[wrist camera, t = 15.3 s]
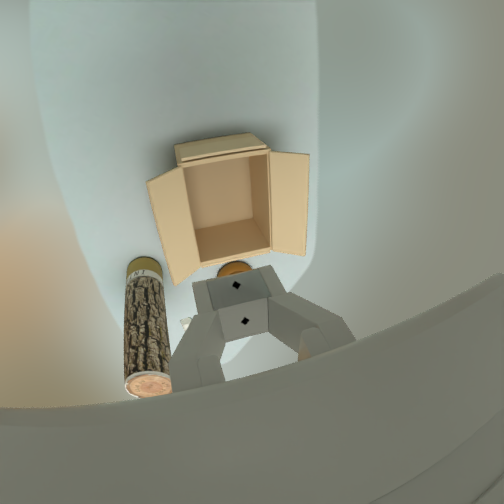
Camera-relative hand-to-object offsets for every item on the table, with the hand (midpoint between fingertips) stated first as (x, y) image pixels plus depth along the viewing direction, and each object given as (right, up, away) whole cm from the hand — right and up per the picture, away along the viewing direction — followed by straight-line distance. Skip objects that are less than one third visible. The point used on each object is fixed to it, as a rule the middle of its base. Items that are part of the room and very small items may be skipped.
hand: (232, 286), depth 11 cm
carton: (-5, +12, +37) cm, 39 cm away
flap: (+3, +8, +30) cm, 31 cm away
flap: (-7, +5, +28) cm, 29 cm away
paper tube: (-19, -2, +42) cm, 47 cm away
